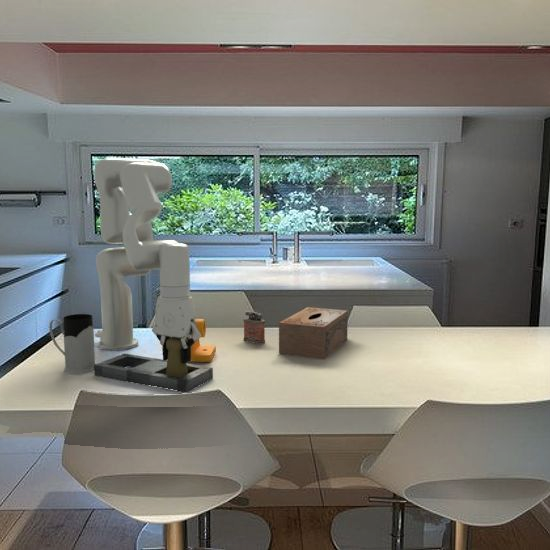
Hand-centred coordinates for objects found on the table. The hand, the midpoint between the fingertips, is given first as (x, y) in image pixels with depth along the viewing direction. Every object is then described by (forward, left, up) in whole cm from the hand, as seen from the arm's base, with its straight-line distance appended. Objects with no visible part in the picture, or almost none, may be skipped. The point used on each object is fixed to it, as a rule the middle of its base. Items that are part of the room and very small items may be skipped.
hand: (176, 359), depth 142 cm
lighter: (-1, +44, -6) cm, 44 cm away
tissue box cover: (+19, +48, -6) cm, 52 cm away
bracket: (-6, +20, -6) cm, 22 cm away
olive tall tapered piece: (0, 0, -5) cm, 5 cm away
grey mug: (-33, -4, -6) cm, 34 cm away
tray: (-8, 0, -6) cm, 10 cm away
